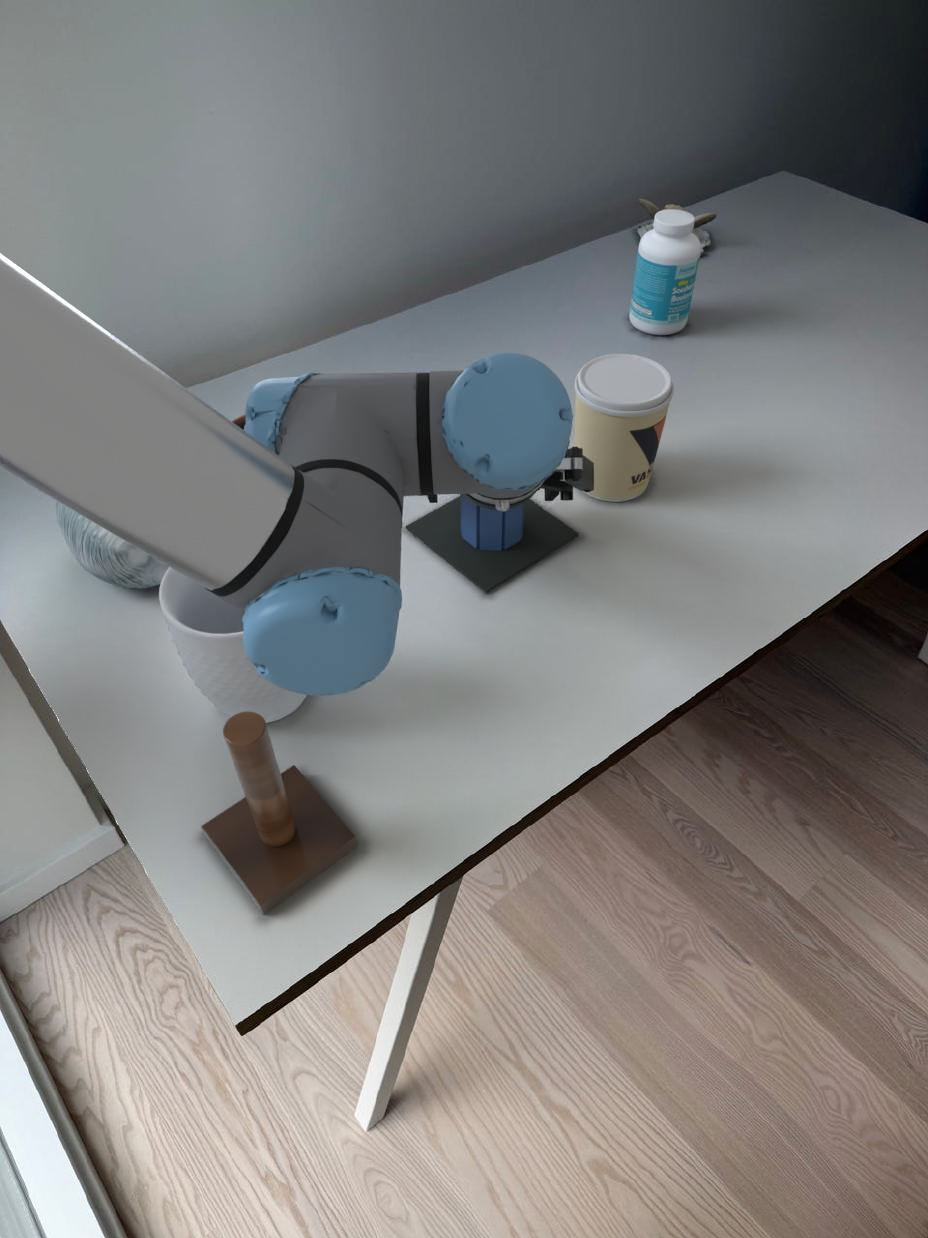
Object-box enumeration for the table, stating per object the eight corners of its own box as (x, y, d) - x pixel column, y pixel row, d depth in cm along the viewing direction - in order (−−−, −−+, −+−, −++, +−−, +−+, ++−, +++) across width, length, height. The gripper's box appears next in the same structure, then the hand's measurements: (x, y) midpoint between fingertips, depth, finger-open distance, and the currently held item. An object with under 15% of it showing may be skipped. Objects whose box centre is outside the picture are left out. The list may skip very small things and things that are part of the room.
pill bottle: (674, 343, 111) (693, 235, 101) (619, 328, 114) (632, 222, 104) (695, 317, 116) (715, 211, 106) (641, 303, 118) (656, 199, 108)
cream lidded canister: (641, 517, 89) (659, 415, 80) (553, 493, 92) (561, 391, 83) (667, 464, 95) (686, 363, 86) (584, 443, 97) (594, 343, 88)
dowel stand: (205, 836, 65) (154, 722, 55) (297, 775, 69) (265, 657, 58) (263, 915, 61) (220, 808, 51) (358, 846, 65) (335, 732, 54)
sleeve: (449, 527, 87) (446, 453, 81) (494, 501, 90) (495, 427, 84) (489, 559, 84) (490, 484, 78) (535, 531, 87) (540, 456, 80)
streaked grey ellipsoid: (71, 536, 89) (4, 501, 80) (137, 468, 90) (79, 424, 80) (155, 624, 85) (96, 598, 76) (224, 552, 86) (174, 517, 76)
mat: (405, 528, 88) (405, 525, 88) (496, 478, 93) (496, 475, 93) (486, 594, 82) (486, 590, 82) (578, 536, 87) (578, 533, 87)
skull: (730, 247, 129) (730, 190, 122) (676, 283, 128) (673, 228, 121) (675, 217, 136) (672, 162, 129) (623, 250, 135) (617, 197, 127)
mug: (365, 623, 79) (350, 511, 70) (389, 720, 72) (375, 609, 63) (195, 656, 77) (155, 544, 67) (202, 760, 70) (158, 650, 60)
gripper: (343, 508, 65) (373, 528, 87) (658, 503, 65) (609, 524, 87) (341, 405, 65) (372, 451, 87) (657, 400, 65) (608, 447, 87)
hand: (490, 488), depth 87 cm, fingers open, 10 cm apart
